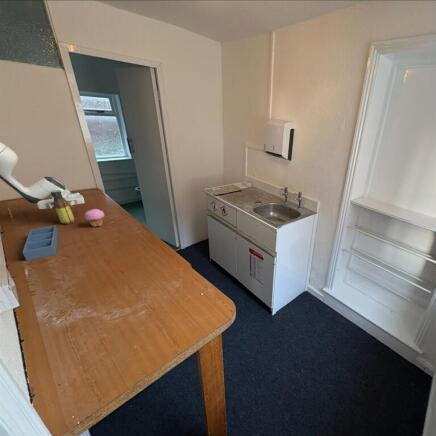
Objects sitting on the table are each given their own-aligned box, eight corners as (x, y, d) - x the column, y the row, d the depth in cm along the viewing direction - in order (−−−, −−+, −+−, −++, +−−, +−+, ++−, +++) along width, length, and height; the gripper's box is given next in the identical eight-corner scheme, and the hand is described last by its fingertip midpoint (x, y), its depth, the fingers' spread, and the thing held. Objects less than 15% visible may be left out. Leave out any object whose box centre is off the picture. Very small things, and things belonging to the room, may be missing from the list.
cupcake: (107, 221, 142) (102, 206, 138) (106, 226, 135) (101, 211, 131) (88, 224, 137) (83, 208, 133) (86, 230, 130) (81, 213, 126)
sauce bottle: (72, 219, 142) (61, 188, 134) (77, 222, 139) (66, 190, 131) (58, 223, 136) (46, 191, 128) (63, 226, 134) (51, 192, 126)
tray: (26, 260, 102) (22, 252, 100) (33, 237, 120) (30, 229, 118) (56, 254, 107) (52, 245, 106) (58, 232, 126) (55, 225, 124)
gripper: (36, 197, 135) (33, 204, 125) (82, 192, 147) (82, 197, 138) (40, 207, 137) (37, 214, 127) (85, 201, 150) (86, 207, 140)
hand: (61, 205), depth 133 cm, fingers closed on sauce bottle, 6 cm apart
